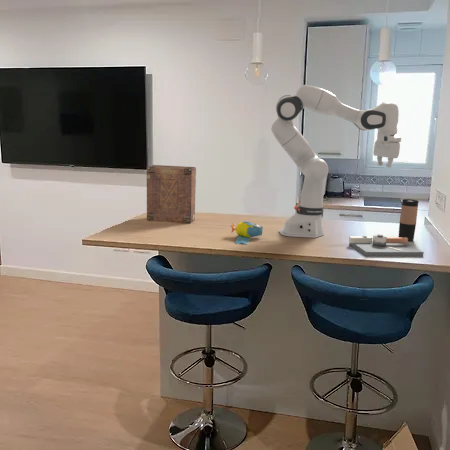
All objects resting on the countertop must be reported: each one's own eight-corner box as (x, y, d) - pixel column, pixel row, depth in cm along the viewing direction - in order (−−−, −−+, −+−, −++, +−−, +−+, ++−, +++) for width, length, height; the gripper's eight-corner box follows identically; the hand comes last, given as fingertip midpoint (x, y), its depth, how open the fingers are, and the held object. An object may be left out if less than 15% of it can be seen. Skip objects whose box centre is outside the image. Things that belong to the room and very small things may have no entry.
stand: (363, 256, 205) (364, 245, 204) (347, 244, 224) (348, 234, 223) (423, 256, 208) (424, 246, 207) (401, 244, 227) (402, 235, 226)
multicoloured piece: (375, 246, 214) (376, 236, 213) (370, 242, 220) (371, 233, 219) (409, 246, 216) (410, 236, 215) (403, 243, 222) (404, 233, 221)
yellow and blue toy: (235, 214, 245) (264, 216, 243) (234, 230, 247) (263, 233, 245) (228, 226, 218) (261, 228, 216) (227, 244, 220) (259, 247, 218)
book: (146, 220, 264) (146, 166, 257) (151, 217, 272) (151, 164, 266) (190, 223, 259) (191, 168, 253) (194, 220, 268) (195, 167, 262)
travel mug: (395, 237, 241) (399, 198, 237) (409, 238, 242) (414, 199, 238) (401, 241, 234) (406, 201, 230) (416, 241, 234) (421, 201, 230)
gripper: (371, 136, 237) (369, 164, 240) (390, 138, 218) (387, 168, 221) (383, 136, 238) (381, 164, 241) (403, 138, 218) (400, 168, 221)
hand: (384, 166), depth 231 cm, fingers open, 8 cm apart
